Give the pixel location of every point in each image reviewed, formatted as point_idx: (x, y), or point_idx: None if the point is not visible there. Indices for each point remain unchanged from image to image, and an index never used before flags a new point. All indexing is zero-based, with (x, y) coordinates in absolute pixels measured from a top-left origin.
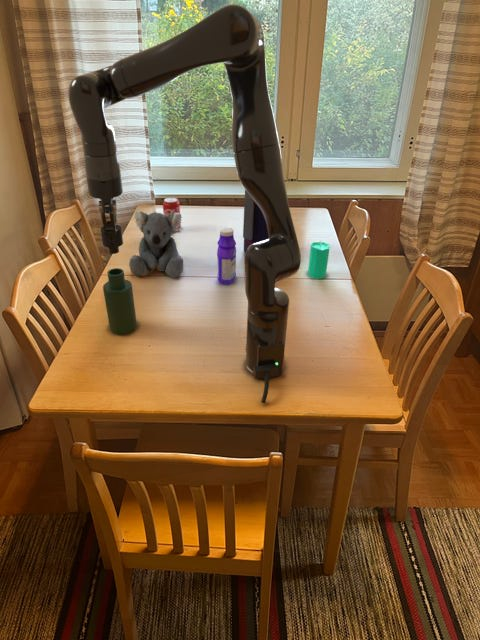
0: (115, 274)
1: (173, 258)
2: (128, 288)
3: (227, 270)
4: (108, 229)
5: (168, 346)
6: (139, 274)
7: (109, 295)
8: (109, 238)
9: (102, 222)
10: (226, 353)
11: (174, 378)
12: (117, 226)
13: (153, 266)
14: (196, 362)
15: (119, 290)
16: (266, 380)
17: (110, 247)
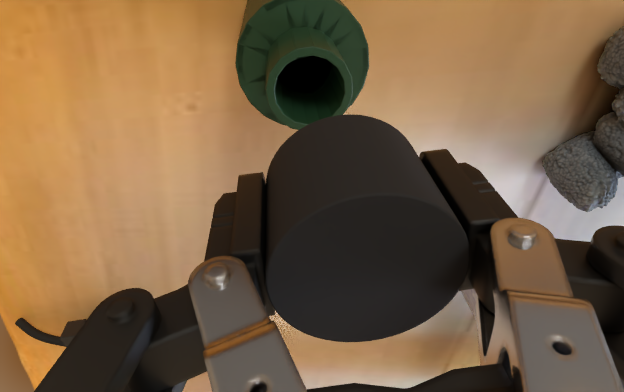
0: (338, 72)
1: (599, 189)
2: (275, 116)
3: (472, 306)
4: (196, 338)
5: (192, 155)
6: (604, 53)
7: (243, 27)
8: (207, 258)
9: (209, 369)
10: (174, 268)
11: (59, 174)
12: (403, 316)
13: (617, 108)
14: (132, 216)
15: (258, 79)
16: (52, 342)
17: (224, 198)
